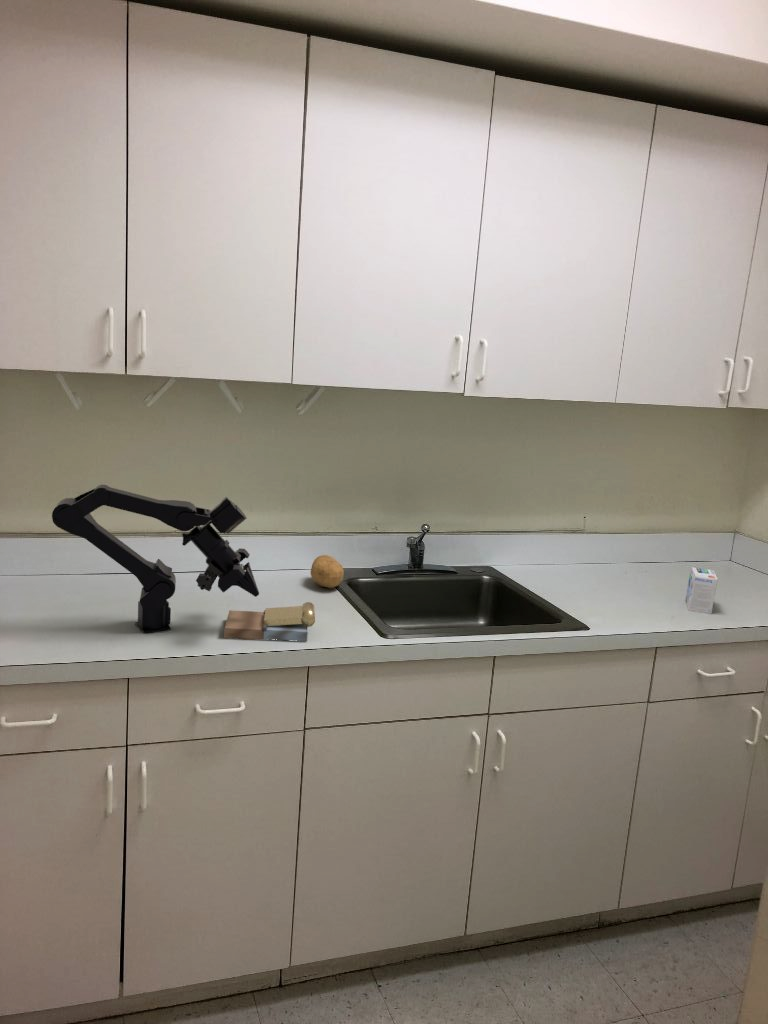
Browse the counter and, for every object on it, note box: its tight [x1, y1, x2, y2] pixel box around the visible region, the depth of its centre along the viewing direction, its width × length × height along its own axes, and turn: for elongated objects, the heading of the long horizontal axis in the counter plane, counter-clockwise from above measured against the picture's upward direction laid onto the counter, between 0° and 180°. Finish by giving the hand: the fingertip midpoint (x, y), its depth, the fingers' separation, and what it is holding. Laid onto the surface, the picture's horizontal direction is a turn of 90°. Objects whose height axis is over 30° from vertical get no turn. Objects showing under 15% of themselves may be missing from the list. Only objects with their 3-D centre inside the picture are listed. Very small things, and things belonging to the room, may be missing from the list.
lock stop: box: [264, 601, 316, 628], centre depth 193 cm, size 3×8×12 cm
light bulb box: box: [684, 566, 719, 615], centre depth 240 cm, size 11×7×11 cm, turn 165°
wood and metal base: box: [223, 609, 308, 642], centre depth 193 cm, size 19×12×3 cm, turn 96°
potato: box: [310, 554, 345, 589], centre depth 230 cm, size 10×14×8 cm
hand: (257, 595), depth 191 cm, fingers closed
